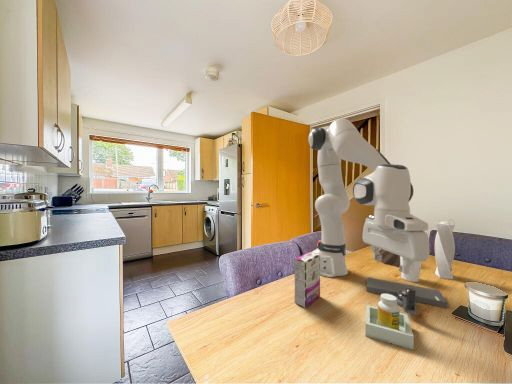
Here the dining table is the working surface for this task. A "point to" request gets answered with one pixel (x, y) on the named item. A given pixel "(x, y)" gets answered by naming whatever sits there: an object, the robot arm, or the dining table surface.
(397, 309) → the supplement bottle
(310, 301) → the candy bar box
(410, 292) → the crank
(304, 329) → the dining table surface
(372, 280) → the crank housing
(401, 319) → the tray
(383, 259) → the decorative dome
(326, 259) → the robot arm
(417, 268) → the white cup
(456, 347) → the dining table surface
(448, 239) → the skyscraper
